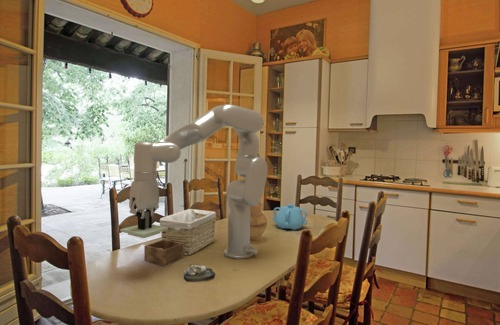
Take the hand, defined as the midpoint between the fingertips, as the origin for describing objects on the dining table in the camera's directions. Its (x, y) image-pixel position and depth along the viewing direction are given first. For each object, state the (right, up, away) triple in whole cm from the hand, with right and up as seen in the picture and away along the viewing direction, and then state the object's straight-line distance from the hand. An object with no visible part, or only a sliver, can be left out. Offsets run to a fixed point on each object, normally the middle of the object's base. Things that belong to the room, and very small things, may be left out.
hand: (144, 227), depth 114 cm
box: (+3, -16, +15) cm, 22 cm away
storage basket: (+10, -15, +32) cm, 36 cm away
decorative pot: (+60, -14, +68) cm, 92 cm away
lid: (0, -2, 0) cm, 2 cm away
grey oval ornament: (+20, -17, 0) cm, 26 cm away
